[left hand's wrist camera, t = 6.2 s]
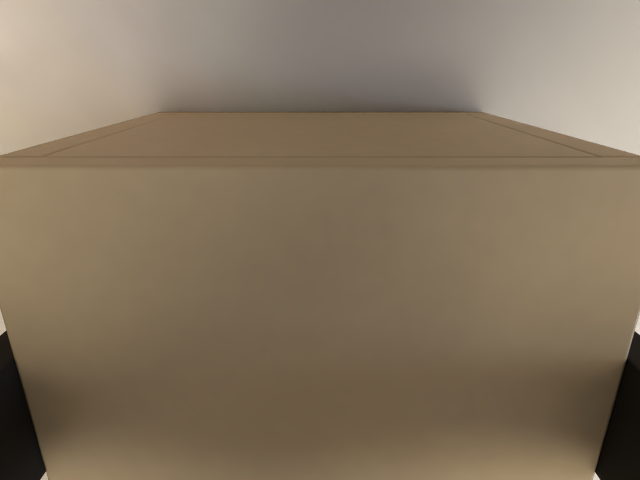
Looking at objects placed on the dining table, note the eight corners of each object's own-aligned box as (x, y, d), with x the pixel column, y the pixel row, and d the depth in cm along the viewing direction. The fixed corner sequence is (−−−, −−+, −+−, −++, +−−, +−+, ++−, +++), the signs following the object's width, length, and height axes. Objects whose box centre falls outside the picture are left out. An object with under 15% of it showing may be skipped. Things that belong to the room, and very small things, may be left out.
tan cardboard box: (438, 488, 22) (514, 763, 13) (203, 488, 22) (126, 762, 13) (484, 112, 16) (683, 166, 7) (157, 111, 16) (-43, 165, 7)
